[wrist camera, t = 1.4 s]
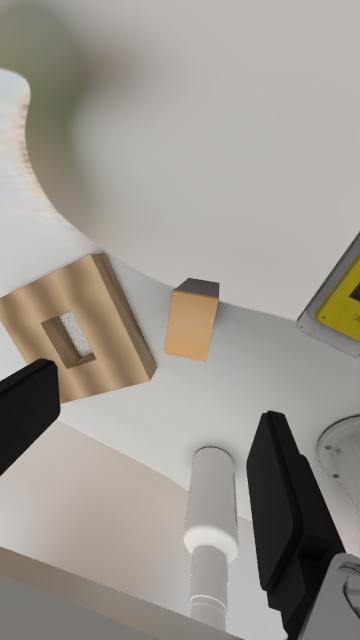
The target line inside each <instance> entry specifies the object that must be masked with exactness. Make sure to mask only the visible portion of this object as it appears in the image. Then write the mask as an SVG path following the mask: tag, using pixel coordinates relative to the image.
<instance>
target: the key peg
mask: <svg viewBox="0 0 360 640" xmlns="http://www.w3.org/2000/svg"><path fill="white" fill-rule="evenodd" d="M218 301H219V283H216V282H210V281H204V280H198V279H192V278H188V279H187V280H186V281H184V282H183V283H182V284H181V285H180V286H178V287H177V288H176V289H175V290H173V291H172V298H171V306H170V313H169V321H168V329H167V336H166V344H165V352H164V353H167V354H172V355H176V356H181V357H185V358H190V359H195V360H199V361H204V362H206V358H207V354H208V349H209V344H210V339H211V334H212V330H213V325H214V320H215V315H216V310H217V305H218Z"/></svg>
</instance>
